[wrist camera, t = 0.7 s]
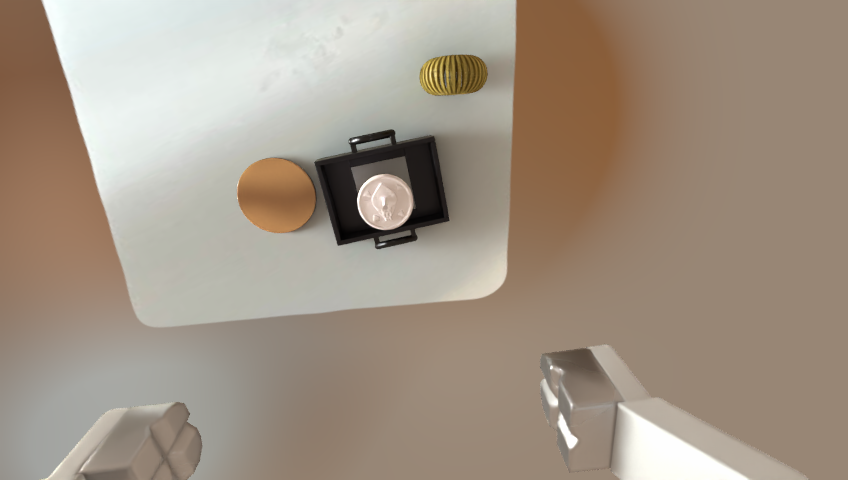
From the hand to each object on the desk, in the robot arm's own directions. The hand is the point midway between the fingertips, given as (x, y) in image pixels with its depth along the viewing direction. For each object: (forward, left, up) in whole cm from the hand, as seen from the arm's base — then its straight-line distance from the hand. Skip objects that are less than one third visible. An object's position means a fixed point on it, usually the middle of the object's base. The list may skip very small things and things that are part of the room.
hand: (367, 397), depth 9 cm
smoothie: (+4, 0, -46) cm, 46 cm away
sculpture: (-8, +11, -46) cm, 48 cm away
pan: (+4, 0, -46) cm, 46 cm away
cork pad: (+2, -14, -46) cm, 48 cm away
